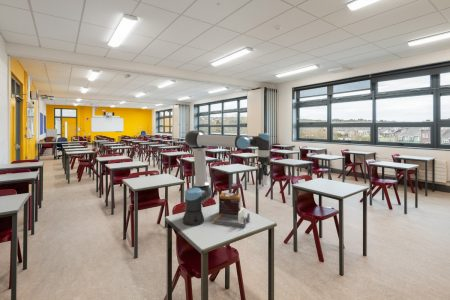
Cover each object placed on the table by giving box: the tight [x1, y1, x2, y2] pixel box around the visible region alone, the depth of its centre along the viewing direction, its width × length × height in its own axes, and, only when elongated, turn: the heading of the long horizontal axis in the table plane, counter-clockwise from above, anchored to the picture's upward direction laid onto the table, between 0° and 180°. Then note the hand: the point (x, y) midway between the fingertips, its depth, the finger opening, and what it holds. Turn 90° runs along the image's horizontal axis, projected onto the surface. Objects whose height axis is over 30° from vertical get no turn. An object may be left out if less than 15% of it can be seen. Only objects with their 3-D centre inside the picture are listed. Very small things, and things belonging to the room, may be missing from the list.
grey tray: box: [212, 213, 251, 229], centre depth 173 cm, size 23×13×6 cm, turn 68°
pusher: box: [238, 207, 247, 223], centre depth 170 cm, size 4×11×9 cm, turn 158°
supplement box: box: [218, 192, 242, 216], centre depth 187 cm, size 10×15×16 cm
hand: (262, 186), depth 167 cm, fingers open, 13 cm apart
